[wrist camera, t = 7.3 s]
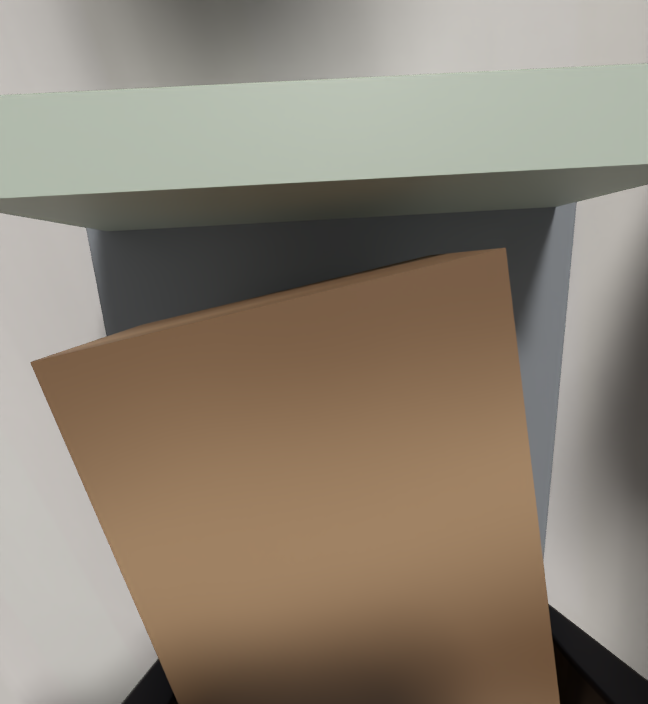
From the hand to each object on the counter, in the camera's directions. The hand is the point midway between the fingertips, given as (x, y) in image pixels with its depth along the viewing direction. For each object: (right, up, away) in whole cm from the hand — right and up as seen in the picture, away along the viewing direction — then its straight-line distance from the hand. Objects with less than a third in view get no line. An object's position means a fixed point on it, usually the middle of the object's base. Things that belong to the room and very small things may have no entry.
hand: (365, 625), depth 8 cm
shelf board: (0, 0, +1) cm, 1 cm away
